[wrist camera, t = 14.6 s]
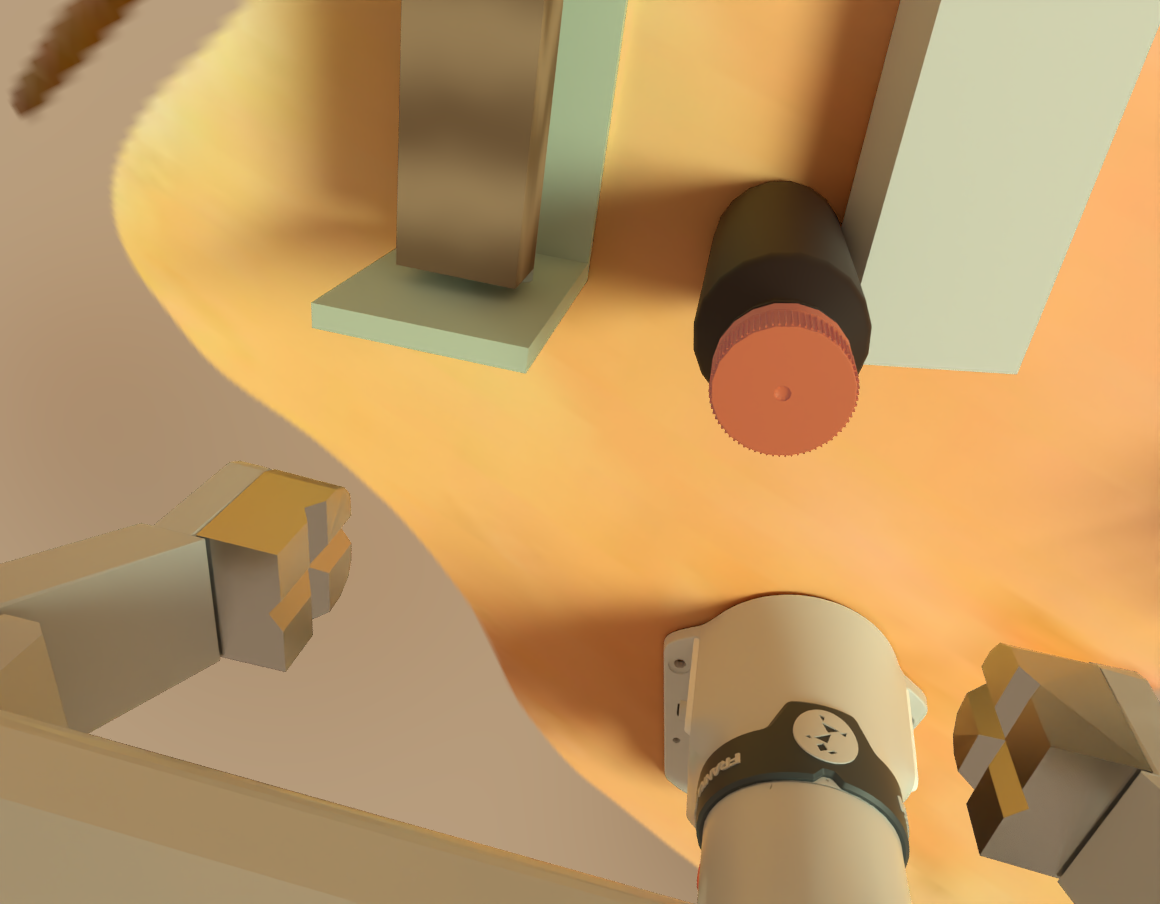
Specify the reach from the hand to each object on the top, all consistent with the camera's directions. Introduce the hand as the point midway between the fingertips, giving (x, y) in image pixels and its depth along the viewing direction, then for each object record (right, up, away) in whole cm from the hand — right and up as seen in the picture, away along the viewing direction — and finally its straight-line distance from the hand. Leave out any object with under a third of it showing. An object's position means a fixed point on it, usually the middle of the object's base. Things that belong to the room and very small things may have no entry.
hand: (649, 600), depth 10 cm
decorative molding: (+20, +23, +27) cm, 40 cm away
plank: (-5, +18, +28) cm, 33 cm away
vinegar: (+10, +13, +34) cm, 38 cm away
